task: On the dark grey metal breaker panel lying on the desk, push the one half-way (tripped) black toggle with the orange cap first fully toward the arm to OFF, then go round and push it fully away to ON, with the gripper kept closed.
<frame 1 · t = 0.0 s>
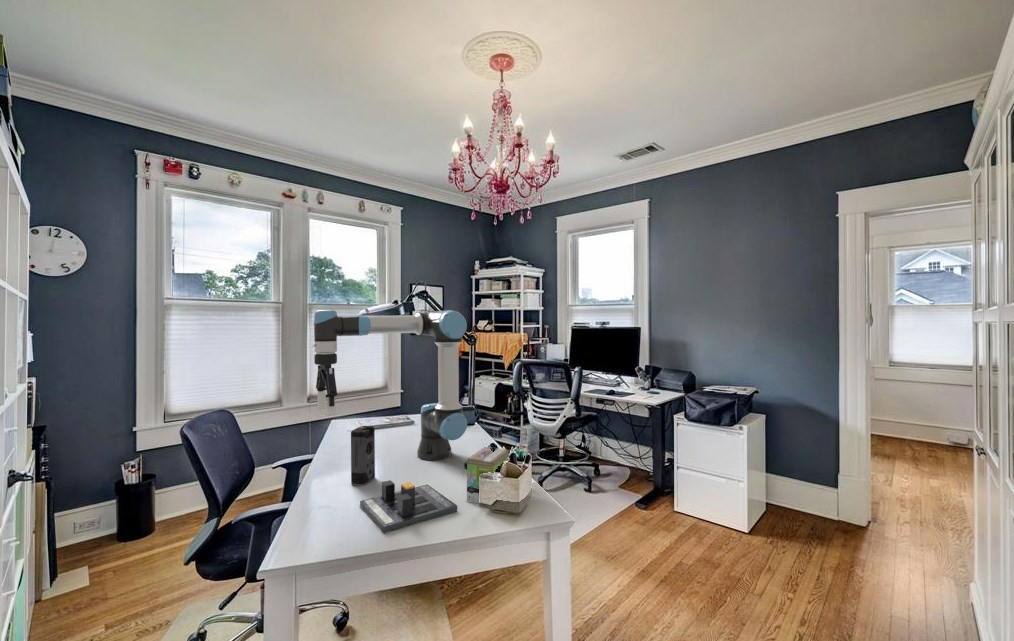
hand: (326, 412, 159), 28 cm above the table, fingers open, 13 cm apart
panel: (408, 509, 143), on the table
tripped breaker: (408, 493, 143), point 5 cm above the table, slide at 0.0 cm
electronic device: (363, 481, 167), on the table
tea box: (488, 496, 153), on the table
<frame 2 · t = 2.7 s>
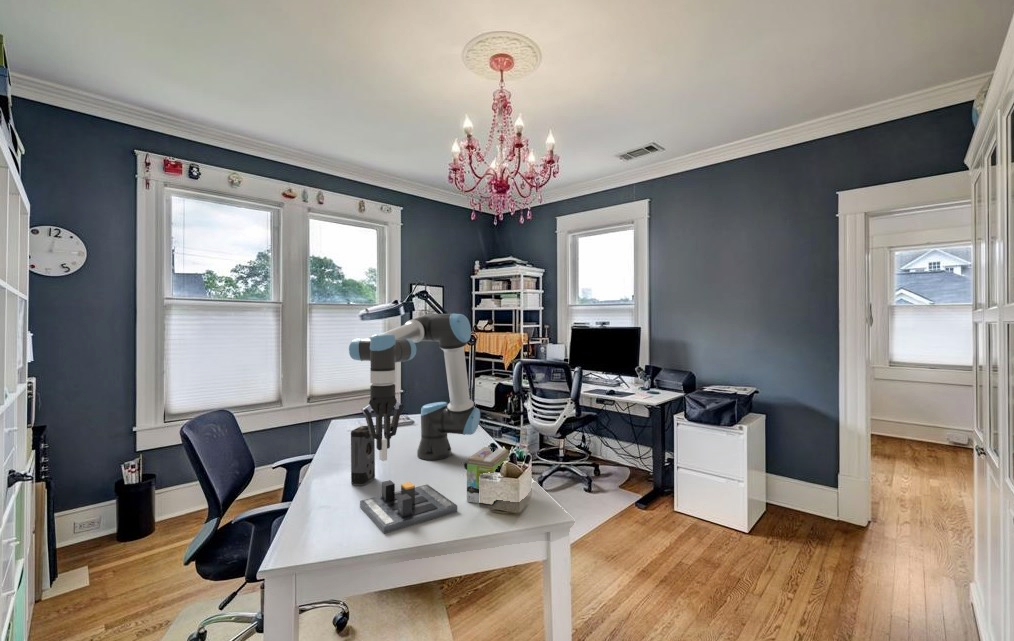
hand: (383, 459, 138), 18 cm above the table, fingers closed
nothing on the table moved.
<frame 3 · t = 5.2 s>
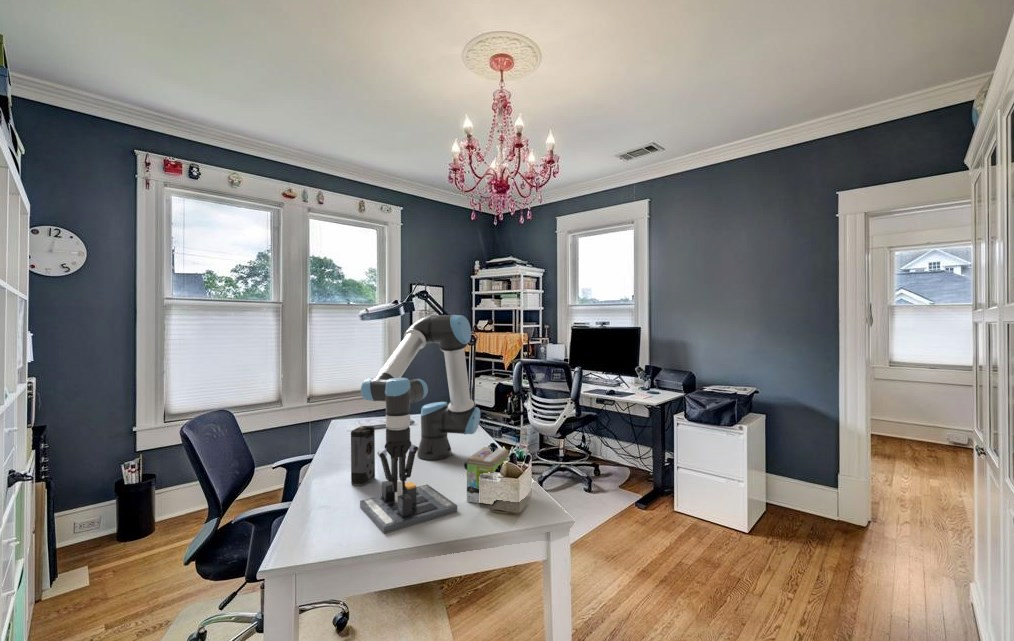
hand: (398, 500, 141), 3 cm above the table, fingers closed
tripped breaker: (409, 493, 143), point 5 cm above the table, slide at -0.5 cm, touching gripper
everything else where it was.
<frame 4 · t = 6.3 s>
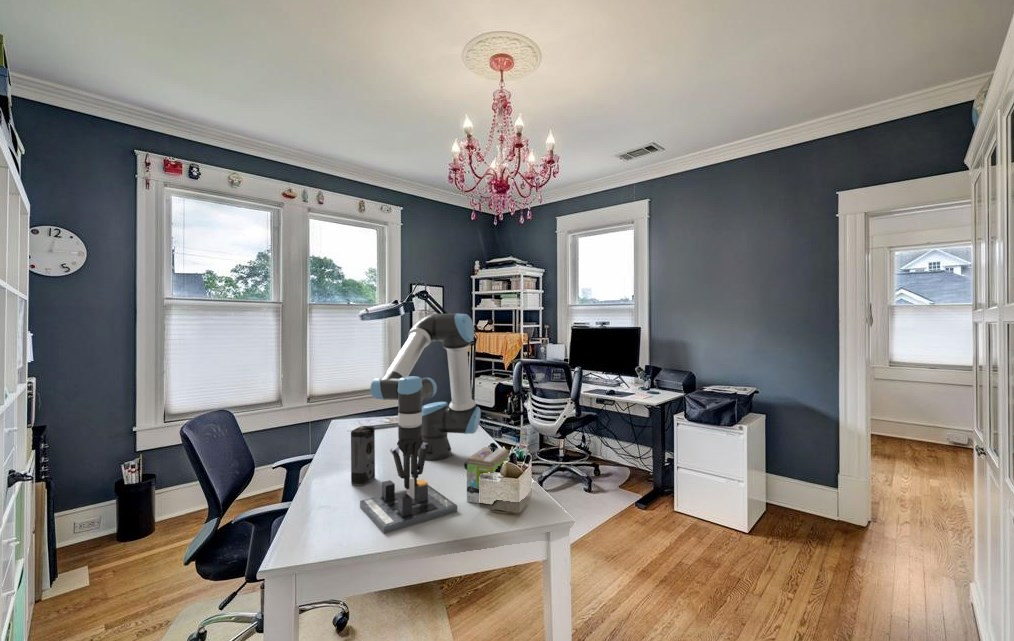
hand: (410, 497, 143), 4 cm above the table, fingers closed
tripped breaker: (420, 490, 145), point 5 cm above the table, slide at -4.5 cm, touching gripper
everything else where it was.
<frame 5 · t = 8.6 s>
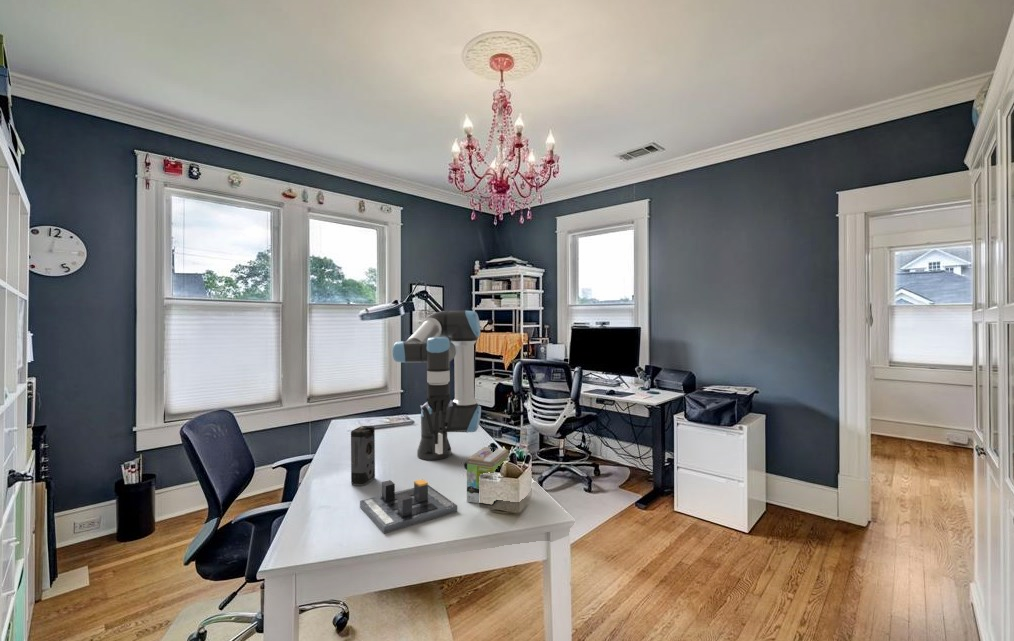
hand: (438, 452, 149), 16 cm above the table, fingers closed
tripped breaker: (421, 490, 145), point 5 cm above the table, slide at -4.5 cm
everything else where it was.
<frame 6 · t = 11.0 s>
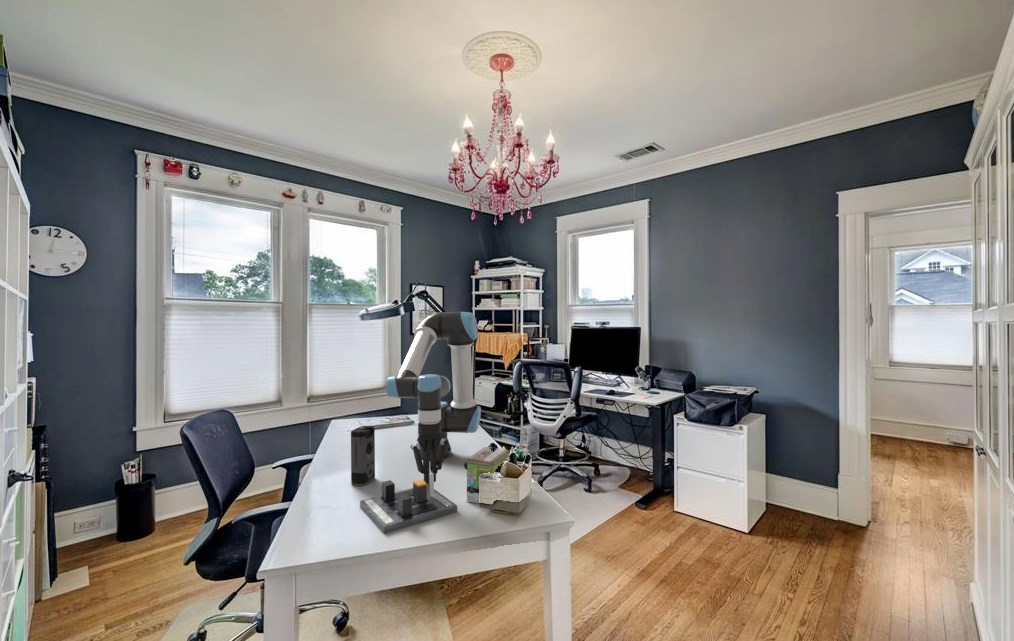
hand: (430, 492, 147), 4 cm above the table, fingers closed
tripped breaker: (419, 490, 145), point 5 cm above the table, slide at -4.1 cm, touching gripper
everything else where it was.
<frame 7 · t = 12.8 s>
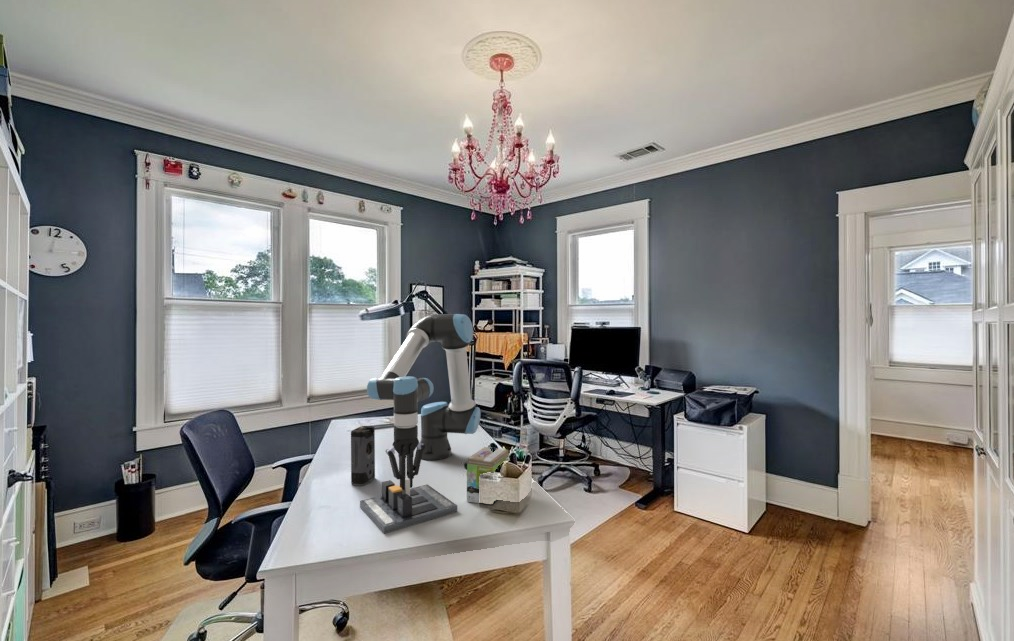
hand: (406, 498, 142), 4 cm above the table, fingers closed
tripped breaker: (395, 496, 140), point 5 cm above the table, slide at 4.2 cm, touching gripper
everything else where it was.
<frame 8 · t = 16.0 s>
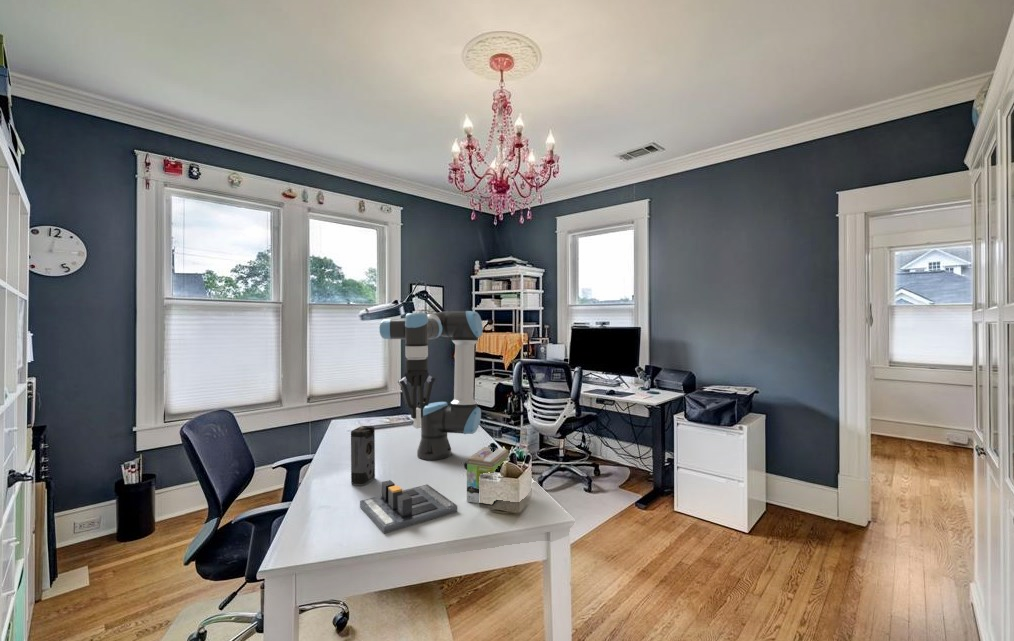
hand: (417, 427, 151), 24 cm above the table, fingers closed
tripped breaker: (395, 496, 140), point 5 cm above the table, slide at 4.3 cm
everything else where it was.
at the end: tripped breaker slide at 4.3 cm; tripped breaker touching nothing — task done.
